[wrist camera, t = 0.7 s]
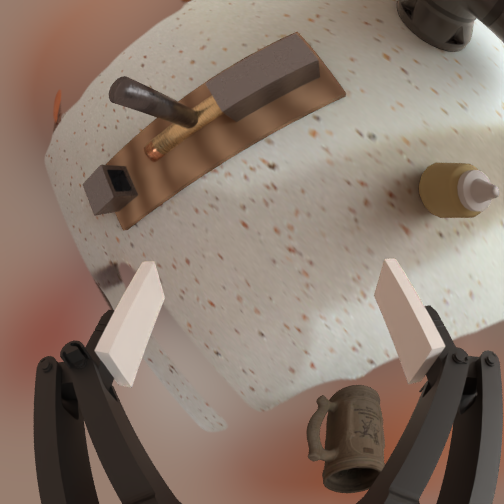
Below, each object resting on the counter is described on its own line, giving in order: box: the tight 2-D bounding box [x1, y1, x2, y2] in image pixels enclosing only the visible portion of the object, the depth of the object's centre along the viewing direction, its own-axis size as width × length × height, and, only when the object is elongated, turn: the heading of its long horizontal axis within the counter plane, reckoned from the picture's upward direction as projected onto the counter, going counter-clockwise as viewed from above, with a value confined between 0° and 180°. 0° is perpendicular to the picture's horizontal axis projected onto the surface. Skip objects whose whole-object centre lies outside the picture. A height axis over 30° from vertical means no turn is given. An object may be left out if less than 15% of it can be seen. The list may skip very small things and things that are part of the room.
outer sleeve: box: [205, 33, 320, 122], centre depth 33 cm, size 15×6×6 cm, turn 119°
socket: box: [83, 165, 138, 215], centre depth 44 cm, size 6×7×7 cm
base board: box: [106, 32, 346, 231], centre depth 41 cm, size 46×14×2 cm, turn 119°
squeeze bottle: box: [419, 163, 499, 218], centre depth 26 cm, size 8×8×18 cm
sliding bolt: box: [109, 76, 224, 162], centre depth 28 cm, size 27×3×19 cm, turn 119°
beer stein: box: [307, 385, 385, 493], centre depth 37 cm, size 15×11×20 cm
